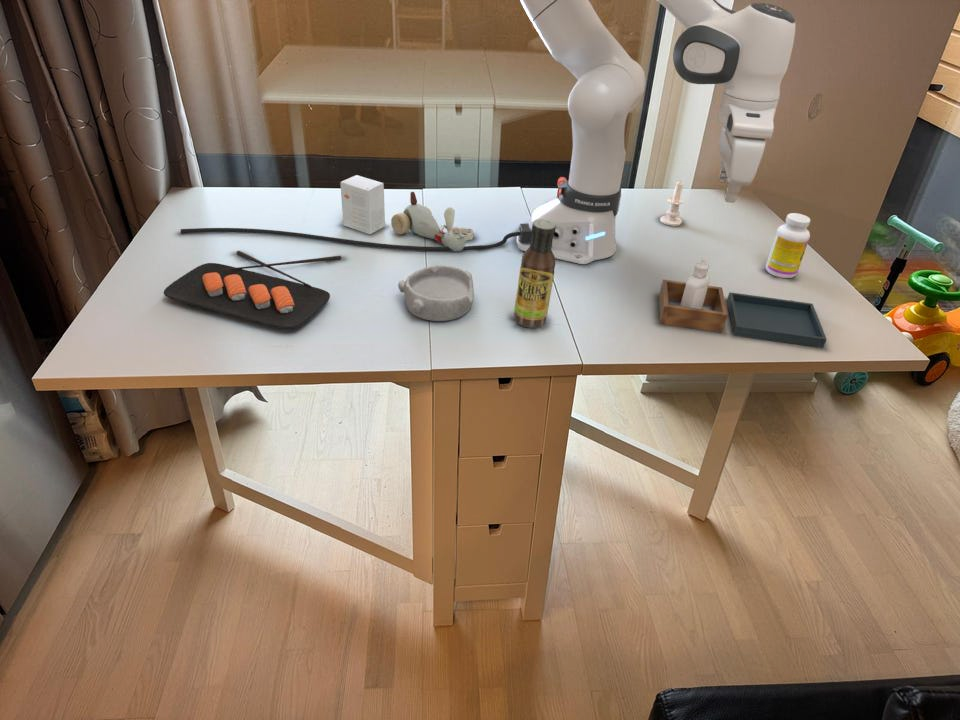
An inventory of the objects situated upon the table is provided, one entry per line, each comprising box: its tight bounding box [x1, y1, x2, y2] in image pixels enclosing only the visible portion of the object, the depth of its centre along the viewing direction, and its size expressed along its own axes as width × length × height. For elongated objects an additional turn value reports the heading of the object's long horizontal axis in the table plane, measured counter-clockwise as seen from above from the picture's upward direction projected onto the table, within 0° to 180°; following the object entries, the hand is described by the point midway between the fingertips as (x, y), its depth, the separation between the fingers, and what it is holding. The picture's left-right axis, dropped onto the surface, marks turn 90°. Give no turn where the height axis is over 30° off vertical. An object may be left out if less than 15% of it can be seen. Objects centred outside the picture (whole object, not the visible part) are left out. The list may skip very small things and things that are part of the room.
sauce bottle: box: [513, 219, 556, 329], centre depth 129 cm, size 6×6×20 cm
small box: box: [340, 174, 386, 235], centre depth 161 cm, size 8×6×10 cm
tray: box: [726, 291, 828, 349], centre depth 139 cm, size 16×13×2 cm
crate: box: [658, 279, 729, 334], centre depth 139 cm, size 12×11×4 cm
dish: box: [397, 264, 475, 322], centre depth 136 cm, size 14×14×5 cm
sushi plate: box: [163, 250, 342, 330], centre depth 139 cm, size 29×30×4 cm
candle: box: [659, 181, 684, 227], centre depth 173 cm, size 5×5×10 cm
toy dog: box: [390, 191, 475, 252], centre depth 158 cm, size 12×19×9 cm, turn 69°
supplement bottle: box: [765, 212, 811, 279], centre depth 153 cm, size 7×7×13 cm
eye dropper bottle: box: [679, 257, 710, 309], centre depth 137 cm, size 4×6×12 cm
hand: (726, 191), depth 128 cm, fingers open, 8 cm apart
